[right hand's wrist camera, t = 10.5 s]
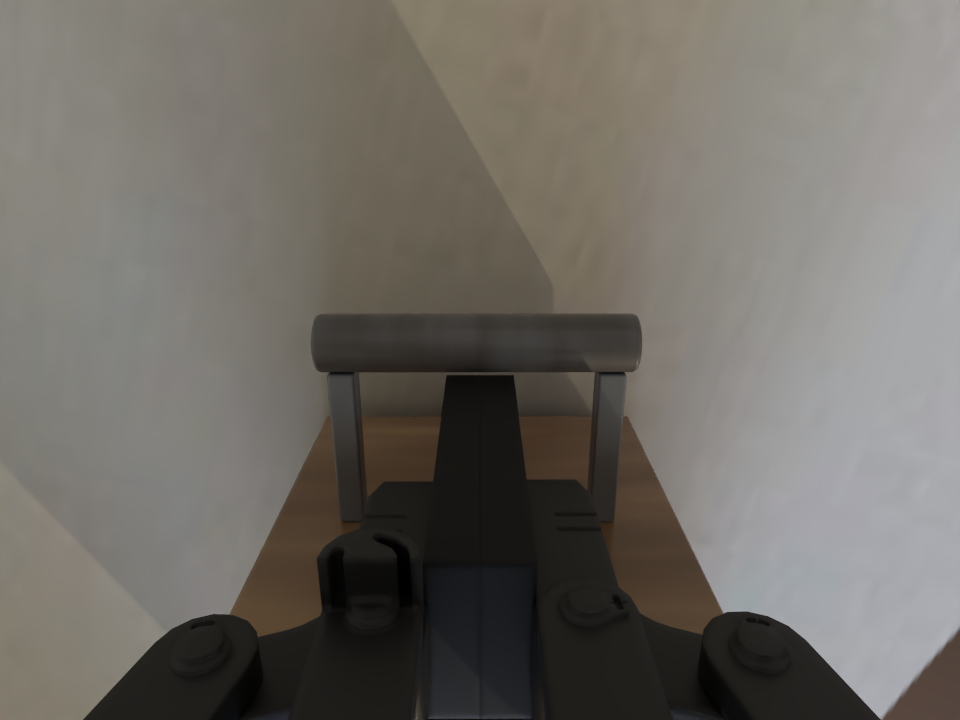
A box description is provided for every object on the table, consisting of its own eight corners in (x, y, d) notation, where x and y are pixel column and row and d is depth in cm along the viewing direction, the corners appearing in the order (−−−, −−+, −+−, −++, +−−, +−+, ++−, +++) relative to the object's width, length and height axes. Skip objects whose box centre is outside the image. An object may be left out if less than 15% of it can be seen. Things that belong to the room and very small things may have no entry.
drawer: (312, 260, 19) (169, 388, 10) (641, 260, 19) (781, 387, 10) (360, 783, 27) (302, 1114, 18) (595, 783, 27) (652, 1113, 18)
